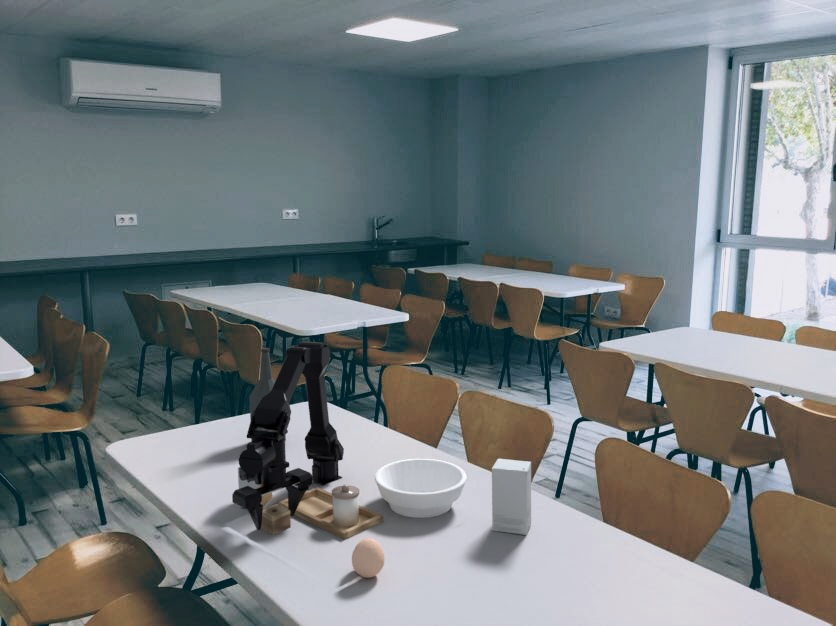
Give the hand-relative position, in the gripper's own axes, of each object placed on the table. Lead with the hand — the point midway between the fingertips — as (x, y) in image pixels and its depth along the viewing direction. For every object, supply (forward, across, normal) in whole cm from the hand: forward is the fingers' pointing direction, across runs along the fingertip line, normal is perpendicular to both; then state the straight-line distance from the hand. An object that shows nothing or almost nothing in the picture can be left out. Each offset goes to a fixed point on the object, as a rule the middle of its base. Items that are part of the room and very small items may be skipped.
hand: (275, 522), depth 169 cm
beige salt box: (+2, 0, 0) cm, 2 cm away
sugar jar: (+1, -13, +10) cm, 16 cm away
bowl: (+2, -32, +16) cm, 36 cm away
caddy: (+2, -13, +4) cm, 14 cm away
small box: (+2, -6, -16) cm, 17 cm away
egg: (+2, -1, +30) cm, 30 cm away
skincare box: (+2, -38, +39) cm, 54 cm away
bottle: (+2, -33, -48) cm, 58 cm away
